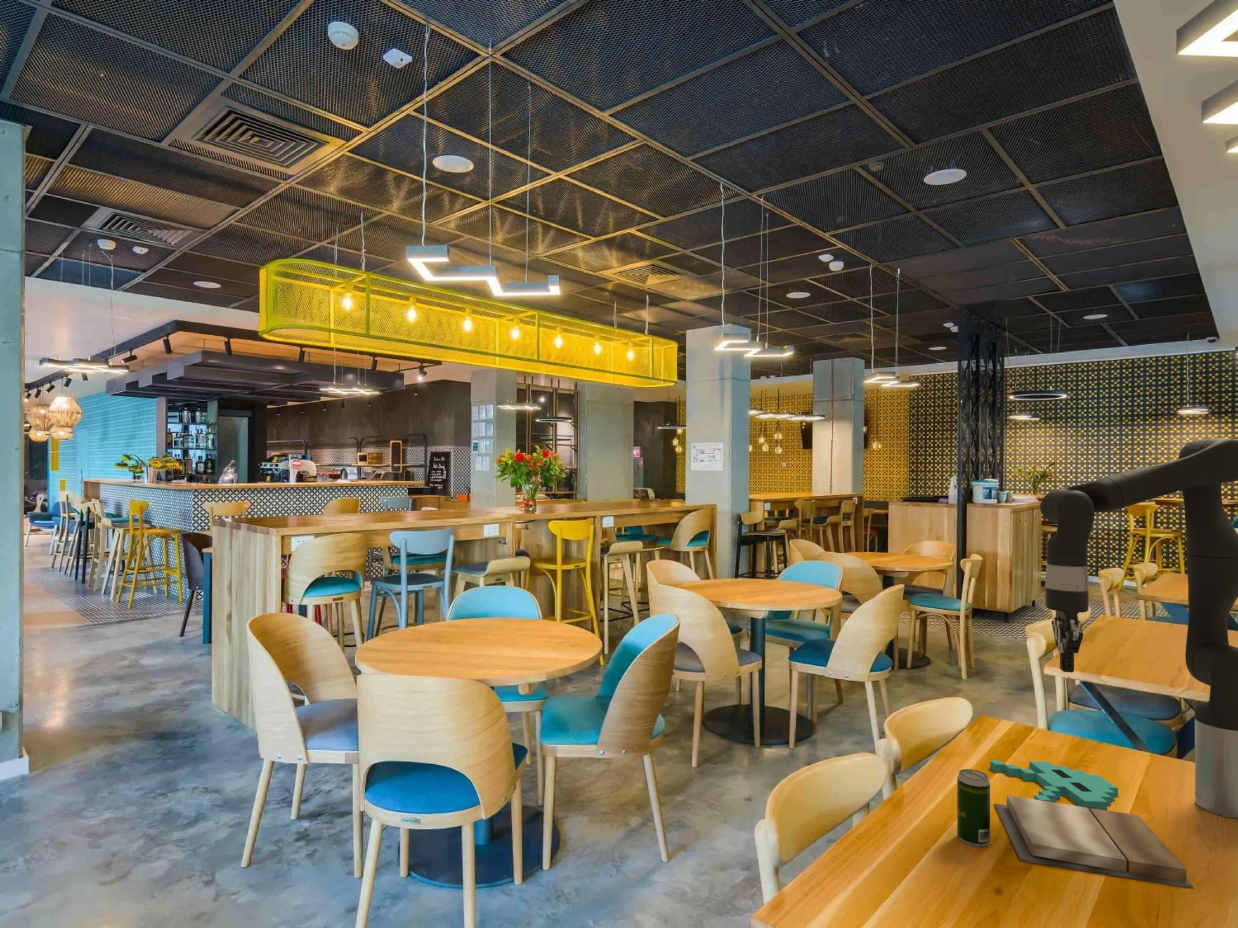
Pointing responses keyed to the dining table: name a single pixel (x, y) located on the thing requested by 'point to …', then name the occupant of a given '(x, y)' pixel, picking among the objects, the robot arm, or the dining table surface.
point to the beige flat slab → (1064, 833)
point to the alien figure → (1063, 783)
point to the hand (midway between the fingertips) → (1066, 671)
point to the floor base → (1060, 863)
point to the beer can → (973, 808)
